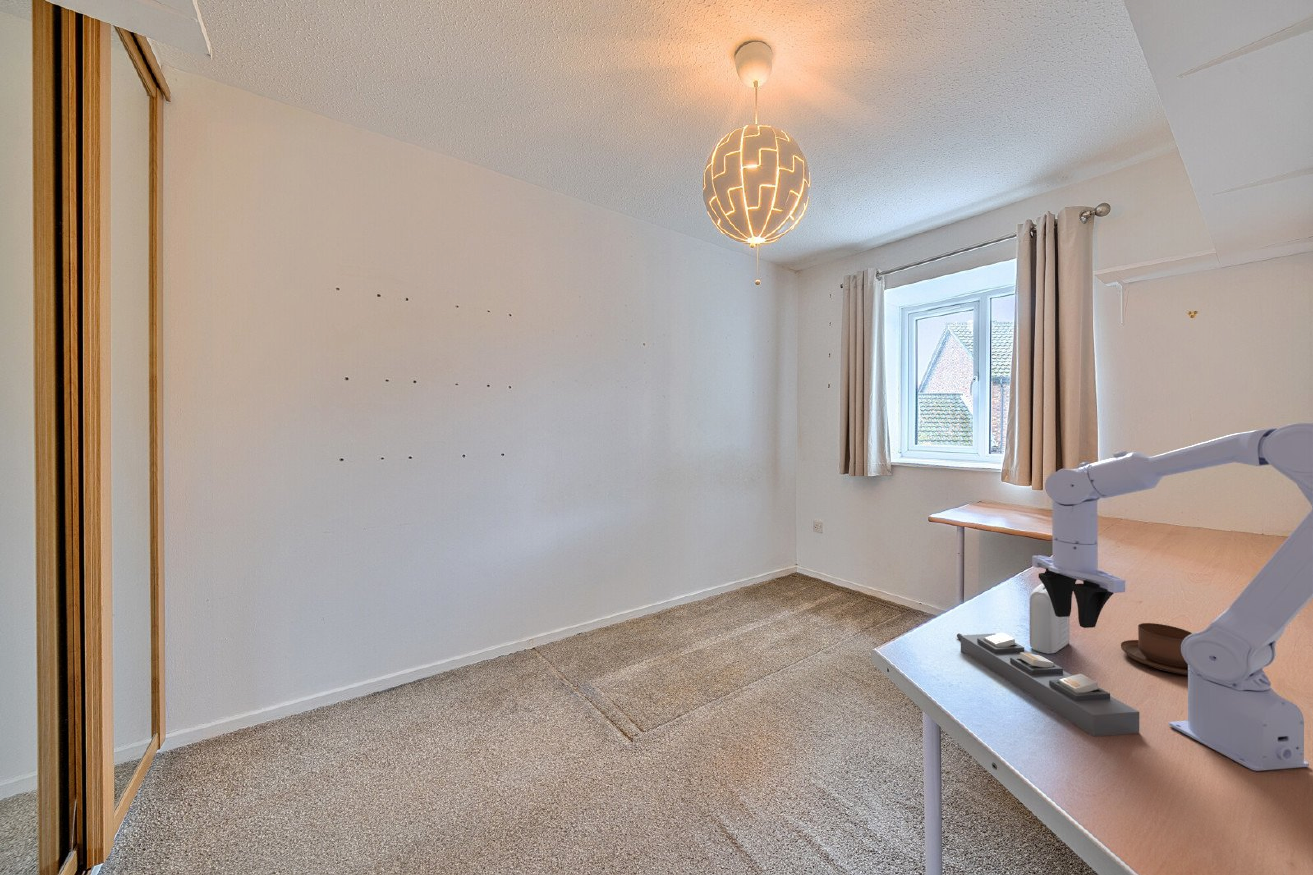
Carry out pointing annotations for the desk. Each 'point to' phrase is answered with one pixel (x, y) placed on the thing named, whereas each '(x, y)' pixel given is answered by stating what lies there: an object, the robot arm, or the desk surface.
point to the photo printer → (1046, 623)
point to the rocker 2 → (1079, 683)
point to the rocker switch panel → (1054, 688)
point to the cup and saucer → (1158, 647)
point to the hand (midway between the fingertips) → (1074, 621)
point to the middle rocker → (1036, 660)
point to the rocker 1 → (1000, 640)
